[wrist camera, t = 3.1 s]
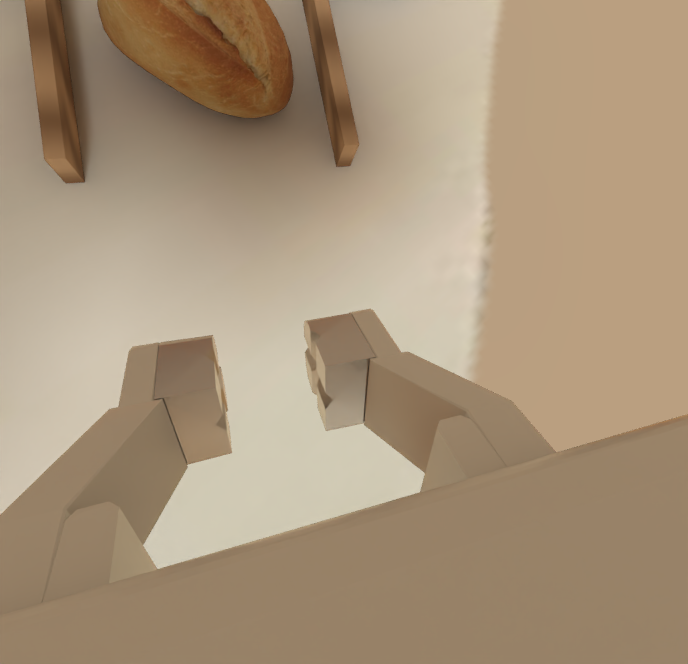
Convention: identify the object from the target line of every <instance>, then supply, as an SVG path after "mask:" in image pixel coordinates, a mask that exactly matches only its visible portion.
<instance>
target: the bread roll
mask: <svg viewBox="0 0 688 664" xmlns="http://www.w3.org/2000/svg"><path fill="white" fill-rule="evenodd" d="M98 10H99V14H100V18H101V21H102V24H103V28H104V30H105V32H106V33H107V35H108V36H109V38H110V40H111V41H112V42H113V43H114V45H115V46H116V47H117V48H118V49H119V50H120V51H121V52H122V53H124V54H125V55H126V56H127V57H128V58H130V59H131V60H132V61H134V62H135V63H136V64H138V65H139V66H140V67H142V68H143V69H145V70H146V71H147V72H149V73H151V74H152V75H154V76H155V77H157V78H159V79H160V80H162V81H163V82H165V83H166V84H168V85H169V86H171V87H173V88H174V89H176V90H177V91H179V92H181V93H182V94H184V95H186V96H187V97H189V98H190V99H192V100H194V101H196V102H198V103H200V104H202V105H204V106H206V107H207V108H209V109H212V110H215V111H218V112H221V113H224V114H228V115H233V116H237V117H243V118H258V117H263V116H267V115H272V114H274V113H277V112H279V111H280V110H282V109H283V108H284V107H285V106H286V105H287V103H288V101H289V99H290V97H291V93H292V88H293V70H292V61H291V55H290V51H289V48H288V46H287V43H286V40H285V36H284V33H283V31H282V29H281V27H280V25H279V23H278V21H277V19H276V17H275V16H274V14H273V12H272V11H271V9H270V7H269V5H268V4H267V3H266V1H265V0H98Z"/></svg>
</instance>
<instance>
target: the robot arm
mask: <svg viewBox="0 0 688 664" xmlns="http://www.w3.org/2000/svg"><path fill="white" fill-rule="evenodd" d="M304 337H305V340H306V342H307V345H308V349H307V350H306V352H305V358H306V368H307V374H308V379H309V383H310V386H311V389H312V392H313V393H314V394H316V395H317V403H318V410H319V413H320V416H321V418H322V421H323V424H324V427H325V430H326V431H328V430H333V429H338V428H343V427H348V426H352V425H357V424H362V423H364V425H365V426H366V427H367V428H369V429H370V430H371V431H373V432H374V433H375V434H376V435H378V436H379V437H380V438H381V439H383V440H384V441H385V442H386V443H388V444H389V445H390V446H392V447H393V448H394V449H395V450H397V451H398V452H399V453H400V454H402V455H403V456H404V457H405V458H407V459H408V460H409V461H410V462H412V463H413V464H414V465H416V466H417V467H418V468H419V469H421V470H422V471H423V472H424V473H425V476H424V479H423V483H422V487H421V491H420V493H417V494H413V495H410V496H406V497H403V498H399V499H396V500H393V501H389V502H386V503H382V504H379V505H376V506H372V507H369V508H365V509H362V510H358V511H355V512H352V513H348V514H345V515H341V516H338V517H335V518H331V519H328V520H324V521H321V522H317V523H314V524H311V525H307V526H304V527H300V528H297V529H294V530H290V531H287V532H283V533H280V534H276V535H273V536H270V537H266V538H263V539H259V540H256V541H252V542H249V543H246V544H242V545H239V546H235V547H232V548H229V549H225V550H222V551H218V552H215V553H211V554H208V555H205V556H201V557H198V558H194V559H191V560H187V561H184V562H181V563H177V564H174V565H170V566H167V567H164V568H160V569H157V568H156V566H155V564H154V563H153V561H152V560H151V558H150V556H149V555H148V553H147V551H146V550H145V548H144V546H143V544H144V543H145V541H146V539H147V537H148V536H149V534H150V532H151V530H152V529H153V527H154V525H155V523H156V522H157V520H158V518H159V516H160V515H161V513H162V511H163V509H164V508H165V506H166V504H167V502H168V501H169V499H170V497H171V495H172V494H173V492H174V490H175V488H176V487H177V485H178V483H179V481H180V480H181V478H182V476H183V474H184V473H185V471H186V469H187V465H188V464H191V463H195V462H199V461H203V460H207V459H211V458H214V457H218V456H222V455H226V454H230V453H232V448H231V437H230V427H229V422H228V418H227V413H226V412H227V411H228V407H227V399H226V392H225V385H224V380H223V375H222V370H221V367H220V366H219V364H218V354H217V348H216V344H215V340H214V337H213V335H209V336H202V337H195V338H188V339H181V340H173V341H166V342H161V343H153V344H146V345H140V346H134V347H132V348H131V349H130V351H129V354H128V359H127V364H126V369H125V375H124V380H123V385H122V390H121V396H120V401H119V406H118V407H117V408H112V409H109V410H108V411H107V412H106V413H105V414H104V415H103V416H102V417H101V418H100V419H99V420H98V421H97V422H96V423H95V424H94V425H92V426H91V427H90V428H89V429H88V430H87V431H86V432H85V433H84V434H83V435H82V436H81V437H80V438H79V439H78V440H77V441H76V442H75V443H74V444H73V445H72V446H71V447H70V448H69V449H68V450H67V451H66V452H65V453H64V454H63V455H62V456H61V457H60V458H58V459H57V460H56V461H55V462H54V463H53V464H52V465H51V466H50V467H49V468H48V469H47V470H46V471H45V472H44V473H43V474H42V475H41V476H40V477H39V478H38V479H37V480H36V481H35V482H34V483H33V484H32V485H31V486H30V487H29V488H28V489H27V490H25V491H24V492H23V493H22V494H21V495H20V496H19V497H18V498H17V499H16V500H15V501H14V502H13V503H12V504H11V505H10V506H9V507H8V508H7V509H6V510H5V511H4V512H3V513H2V514H1V515H0V664H688V414H686V415H683V416H679V417H676V418H673V419H669V420H666V421H662V422H659V423H655V424H652V425H649V426H645V427H642V428H638V429H635V430H632V431H629V432H625V433H621V434H618V435H614V436H611V437H608V438H605V439H601V440H598V441H594V442H591V443H587V444H584V445H580V446H577V447H574V448H570V449H567V450H563V451H560V452H555V450H554V449H553V448H552V447H551V446H550V445H549V443H548V442H547V441H546V440H545V439H544V438H543V437H542V435H541V434H540V433H539V432H538V431H537V430H536V429H535V427H534V426H533V425H532V424H531V423H530V421H529V420H528V419H527V418H526V417H525V416H524V415H523V413H522V412H521V411H520V410H519V409H518V408H517V406H516V405H515V404H514V403H513V402H512V401H511V400H508V399H506V398H504V397H502V396H500V395H498V394H496V393H494V392H492V391H489V390H488V389H485V388H483V387H481V386H479V385H477V384H475V383H473V382H471V381H469V380H466V379H464V378H462V377H460V376H458V375H456V374H454V373H452V372H450V371H448V370H445V369H443V368H441V367H439V366H437V365H435V364H433V363H431V362H429V361H427V360H424V359H422V358H420V357H418V356H416V355H414V354H412V353H410V352H403V353H401V351H400V350H399V348H398V347H397V345H396V344H395V342H394V341H393V339H392V338H391V336H390V335H389V333H388V332H387V330H386V329H385V327H384V326H383V324H382V323H381V321H380V320H379V318H378V317H377V315H376V314H375V312H374V311H373V310H371V309H366V310H361V311H356V312H350V313H349V314H343V315H337V316H331V317H325V318H319V319H313V320H307V321H304Z"/></svg>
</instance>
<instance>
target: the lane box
mask: <svg viewBox="0 0 688 664" xmlns="http://www.w3.org/2000/svg"><path fill="white" fill-rule="evenodd" d="M302 1H303V6H304V11H305V16H306V21H307V26H308V31H309V35H310V40H311V45H312V50H313V55H314V60H315V65H316V69H317V74H318V79H319V84H320V89H321V94H322V99H323V104H324V108H325V113H326V118H327V123H328V128H329V133H330V138H331V142H332V147H333V152H334V157H335V162H336V167H339V166H350V165H351V162H352V160H353V158H354V155H355V153H356V151H357V149H358V146H359V141H358V136H357V131H356V127H355V122H354V117H353V113H352V108H351V103H350V99H349V94H348V89H347V85H346V80H345V75H344V71H343V66H342V61H341V56H340V52H339V47H338V42H337V38H336V33H335V28H334V24H333V19H332V14H331V10H330V5H329V0H302ZM25 6H26V14H27V22H28V30H29V38H30V47H31V55H32V63H33V71H34V79H35V87H36V95H37V103H38V111H39V120H40V128H41V136H42V144H43V152H44V159H45V161H46V162H47V163H48V164H49V165H50V166H51V167H52V168H53V169H54V171H55V172H56V173H57V174H58V175H59V176H60V177H61V178H62V180H63V181H64V182H65V183H77V182H84V174H83V167H82V160H81V152H80V145H79V137H78V130H77V122H76V115H75V107H74V100H73V92H72V85H71V77H70V70H69V62H68V55H67V47H66V40H65V32H64V25H63V18H62V10H61V3H60V0H25Z"/></svg>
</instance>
